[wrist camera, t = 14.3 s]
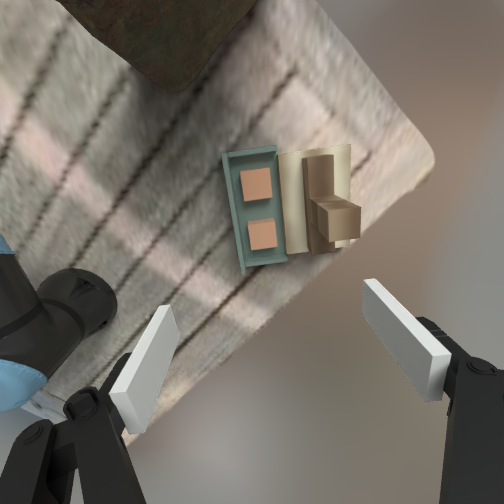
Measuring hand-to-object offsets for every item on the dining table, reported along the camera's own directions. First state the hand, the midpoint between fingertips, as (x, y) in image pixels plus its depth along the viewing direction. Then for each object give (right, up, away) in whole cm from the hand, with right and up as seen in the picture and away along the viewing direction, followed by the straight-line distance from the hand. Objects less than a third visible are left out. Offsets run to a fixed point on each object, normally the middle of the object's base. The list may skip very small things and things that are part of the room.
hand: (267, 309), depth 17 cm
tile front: (0, +16, +28) cm, 32 cm away
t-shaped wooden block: (+10, +12, +27) cm, 32 cm away
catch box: (0, +12, +30) cm, 33 cm away
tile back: (+1, +8, +32) cm, 32 cm away
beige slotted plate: (+10, +14, +30) cm, 35 cm away
